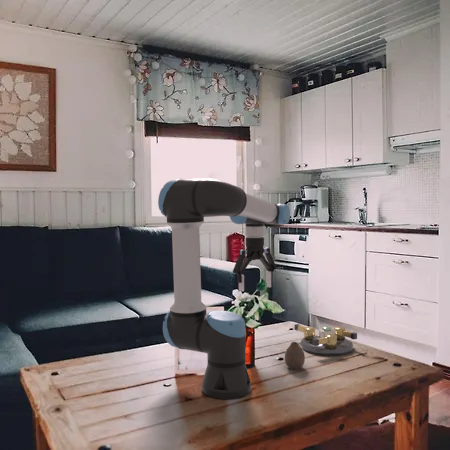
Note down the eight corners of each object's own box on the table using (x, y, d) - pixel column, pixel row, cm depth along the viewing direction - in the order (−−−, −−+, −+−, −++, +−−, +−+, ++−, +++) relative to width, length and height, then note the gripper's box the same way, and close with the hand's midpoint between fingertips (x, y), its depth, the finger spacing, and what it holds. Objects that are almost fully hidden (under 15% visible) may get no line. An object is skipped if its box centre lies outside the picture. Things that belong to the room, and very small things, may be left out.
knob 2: (331, 344, 182) (331, 333, 182) (339, 347, 179) (339, 336, 178) (309, 349, 177) (310, 337, 177) (317, 352, 173) (318, 340, 173)
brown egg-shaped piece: (283, 370, 162) (283, 344, 162) (286, 363, 169) (286, 339, 168) (303, 372, 160) (303, 346, 160) (305, 365, 167) (306, 340, 166)
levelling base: (363, 350, 183) (364, 329, 183) (325, 359, 173) (325, 337, 172) (327, 337, 200) (328, 318, 200) (290, 345, 190) (290, 325, 190)
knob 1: (317, 339, 189) (317, 328, 189) (309, 341, 187) (309, 330, 187) (300, 333, 198) (300, 323, 198) (292, 335, 196) (292, 324, 196)
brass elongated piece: (331, 338, 191) (331, 327, 190) (339, 337, 193) (339, 326, 193) (351, 345, 182) (351, 333, 181) (359, 343, 184) (359, 332, 184)
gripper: (273, 234, 201) (273, 284, 202) (223, 237, 187) (224, 290, 189) (284, 235, 194) (284, 286, 196) (234, 239, 181) (234, 294, 182)
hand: (255, 288), depth 192 cm, fingers open, 13 cm apart
